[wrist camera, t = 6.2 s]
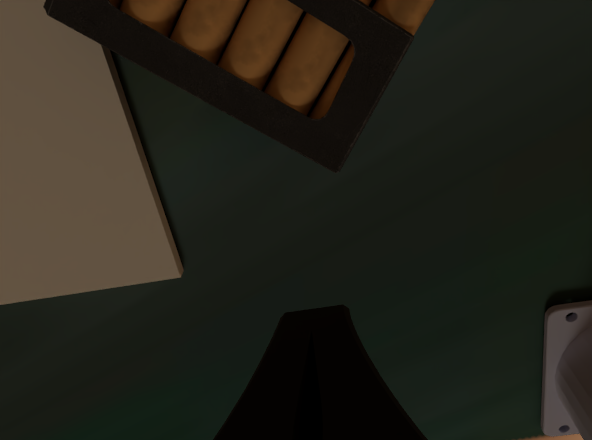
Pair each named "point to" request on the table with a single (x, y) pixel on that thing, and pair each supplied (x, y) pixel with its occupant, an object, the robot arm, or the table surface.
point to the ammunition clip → (264, 58)
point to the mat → (71, 168)
